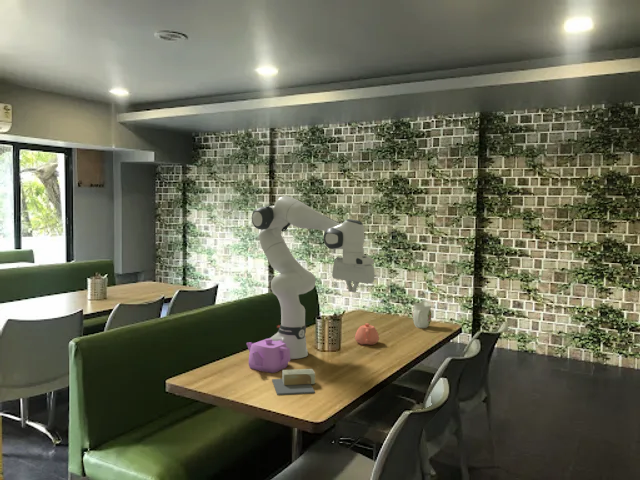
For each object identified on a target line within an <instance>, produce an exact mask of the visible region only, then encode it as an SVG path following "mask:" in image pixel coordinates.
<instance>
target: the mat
mask: <svg viewBox="0 0 640 480" xmlns="http://www.w3.org/2000/svg"><path fill="white" fill-rule="evenodd" d="M271 381H272V384H273V387H274V390H275V394H276V395H277V396H284V395H303V394H304V395H305V394H315V393H316V392H315V390H314V387H313V385H312V384H301V385H284V384H283V381H282V378H272V379H271Z"/></svg>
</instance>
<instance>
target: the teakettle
mask: <svg viewBox="0 0 640 480" xmlns="http://www.w3.org/2000/svg"><path fill="white" fill-rule="evenodd" d="M270 338H271V337H269V338H265V339H262V340H259V341H257V342H252V341H251V342H246V347H247V349H248V351H249V354H248V367H249V369H251V370H255V371H259V372H264V373H271V374H274V373H277V372H280V371H282V370H285V369H286V368H287V367H288V364H289V363H290V362H291V359H290V348H287V346H286V344H285V343H284V342H283V341H280V340H279V341H272V340H273V339H270Z"/></svg>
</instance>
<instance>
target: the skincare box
mask: <svg viewBox="0 0 640 480" xmlns="http://www.w3.org/2000/svg"><path fill="white" fill-rule="evenodd" d="M281 371H282V372H281V375H282V377H281V379H282V381H283V384H284V385H301V384H311V385H315V384H316V372H315V371H314V369H313V368H299V369H297V368H296V369H282V370H281Z"/></svg>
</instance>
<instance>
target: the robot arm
mask: <svg viewBox="0 0 640 480" xmlns="http://www.w3.org/2000/svg"><path fill="white" fill-rule="evenodd" d="M251 223H252V226H253V227H254V228H256V229H258V230H261V231H259V234H258V240H259V243H260V246H261V249H262V252H263V253H264V254H265V255H264V256H265V257H266V259H267V261H268V263H269V265H270V267H271V268H272V269H273V270H275V271H276V272H278V273H279V274H278V275H275V276H273V278H272V279H271V281H270V289H271V292H272V294H273V295H275V296H276V298H277V299H278V302H279V306H280V315H281V317H280V318H281V319H280V323H281V324H278V325H276V328H277V329H278V330H277V332H276V333H274V335H272V336H271V337H269V338H270V339H273V340H272V341H279V340H280V341H283V342H284V343H285V344H286V346H287V348H290V360H295V359H297V360H299V359H303V358H306V357H307V356H309V354H308V352H309V351H308V348H307V338H306V337H307V336H306V331H307V325H306V309H305V306H304V305H303V304H301V302H300V295H304V294H307V293H308V292H310V291H312V290H313V289H314V288H315V286H316V282H317V281H316V277H315V275H314V273H313V272H311V271H309V270H308V269H306V268H305V267H303V265H301V264H300V262H298V261H297V260H296V258H295V257H294V255H293V254H292V252H291V250H290V249H289V247H288V246H287V245H288V244H287V243H286V242H285V240H284V238H283V236H282V232H286V231H287V230H288V227H290V226H291V225H292V226H294V227H296V228H298V229H307V230H319V231H323V232H324V234H323V242H324V245H325V247H327V248H328V249H330V250H342V257H341V256H340V257H339V256H338V257H337V256H336V257H335V259H334V260H333V267H332V272H331V273H332V274H331V277H332V278H333V279H334V280H339V281H340V280H341V281H345V283H346V286H347V289H348V292H350V293H357V288H358V286H359V284H360V283H361V284H362V283H364V284H373V283H374V281H375V267H374V263H375V260H374V259H373V258H372V257H369V256H368V255H366V254H365V250H364V243H365V227H364V224H363V222H362V221H360V220H358V219H351V218H349V219H348V218H347V219H345V220H344V221H343V222H342V223H340V222H338V221H336V220H334V219H332V218H330V217H329V216H326V215H325V214H322V213H321V212H319V211H317V210H315V209H314V208H312V207H311V206H309V205H307V204H306V203H304V202H302V201H300V200H298V199H297V198H294V197H291V196H288V195H282V196H280V197H278V199H276V201H275V203H274V205H266V206H261V207H258V208H256V209H254V210H253V212H252V213H251ZM352 284H353V285H352Z"/></svg>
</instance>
